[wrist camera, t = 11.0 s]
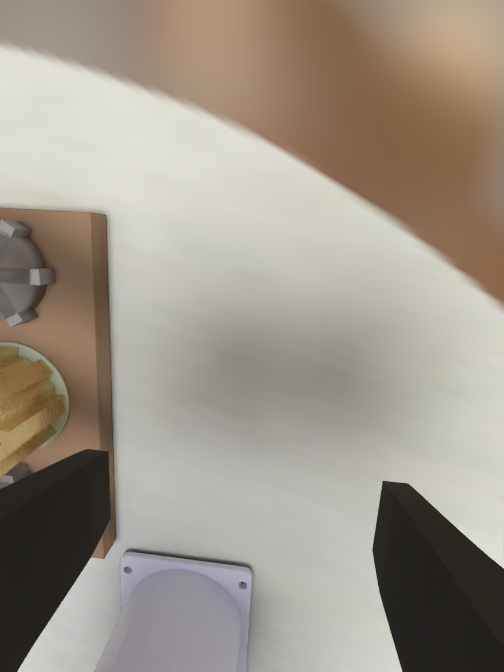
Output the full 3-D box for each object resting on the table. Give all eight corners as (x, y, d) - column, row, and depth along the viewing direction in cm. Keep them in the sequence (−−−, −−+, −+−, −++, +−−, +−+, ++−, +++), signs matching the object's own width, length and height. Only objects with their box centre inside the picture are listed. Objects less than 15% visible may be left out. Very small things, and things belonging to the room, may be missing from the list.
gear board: (115, 539, 23) (67, 619, 18) (-22, 521, 24) (-104, 593, 19) (106, 215, 19) (38, 203, 14) (-61, 206, 20) (-182, 192, 15)
